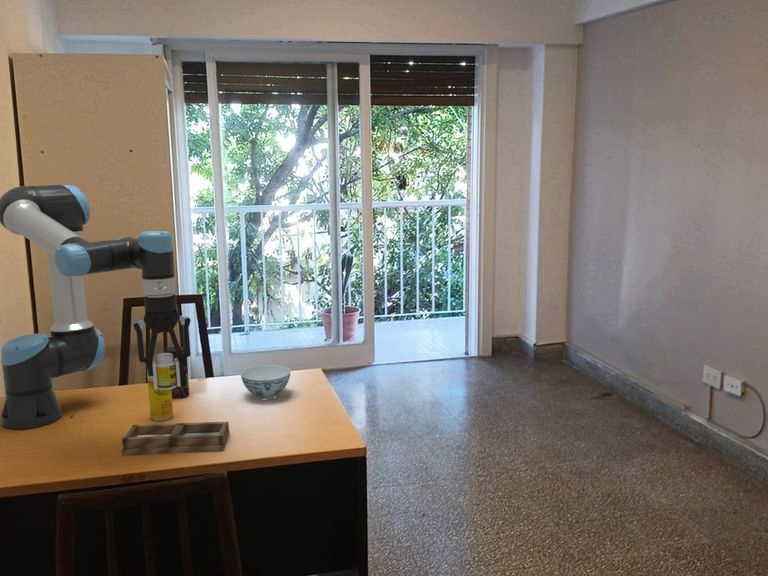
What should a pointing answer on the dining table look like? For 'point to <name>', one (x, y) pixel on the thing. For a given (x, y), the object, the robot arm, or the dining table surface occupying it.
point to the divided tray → (176, 438)
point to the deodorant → (181, 390)
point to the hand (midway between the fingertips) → (167, 386)
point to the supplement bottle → (166, 371)
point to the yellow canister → (159, 402)
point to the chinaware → (266, 380)
